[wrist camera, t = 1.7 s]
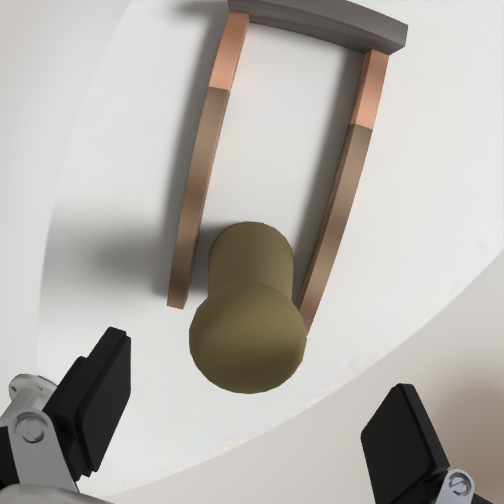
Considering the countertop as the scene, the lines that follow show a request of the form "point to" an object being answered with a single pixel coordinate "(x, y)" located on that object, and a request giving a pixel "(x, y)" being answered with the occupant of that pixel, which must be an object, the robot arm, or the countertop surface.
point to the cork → (248, 312)
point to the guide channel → (356, 142)
